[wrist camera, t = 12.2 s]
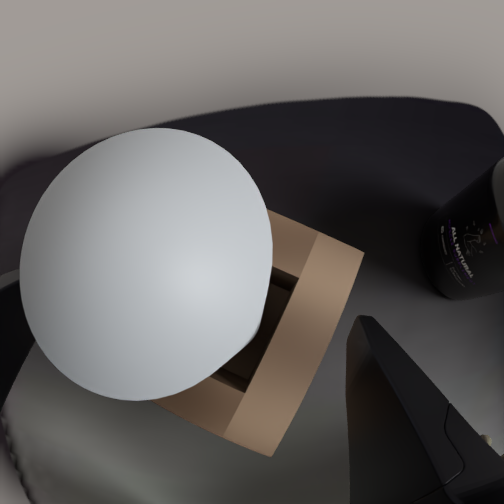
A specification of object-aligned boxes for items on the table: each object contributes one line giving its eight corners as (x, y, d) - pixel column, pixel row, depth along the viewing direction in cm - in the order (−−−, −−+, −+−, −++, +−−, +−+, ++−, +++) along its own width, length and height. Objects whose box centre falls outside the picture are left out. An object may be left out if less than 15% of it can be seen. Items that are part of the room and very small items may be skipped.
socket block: (267, 425, 15) (271, 457, 11) (120, 349, 17) (78, 351, 12) (337, 274, 18) (364, 252, 13) (191, 210, 19) (171, 171, 14)
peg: (212, 365, 16) (80, 439, 3) (176, 303, 16) (4, 216, 4) (274, 327, 16) (335, 298, 4) (236, 267, 17) (187, 92, 4)
